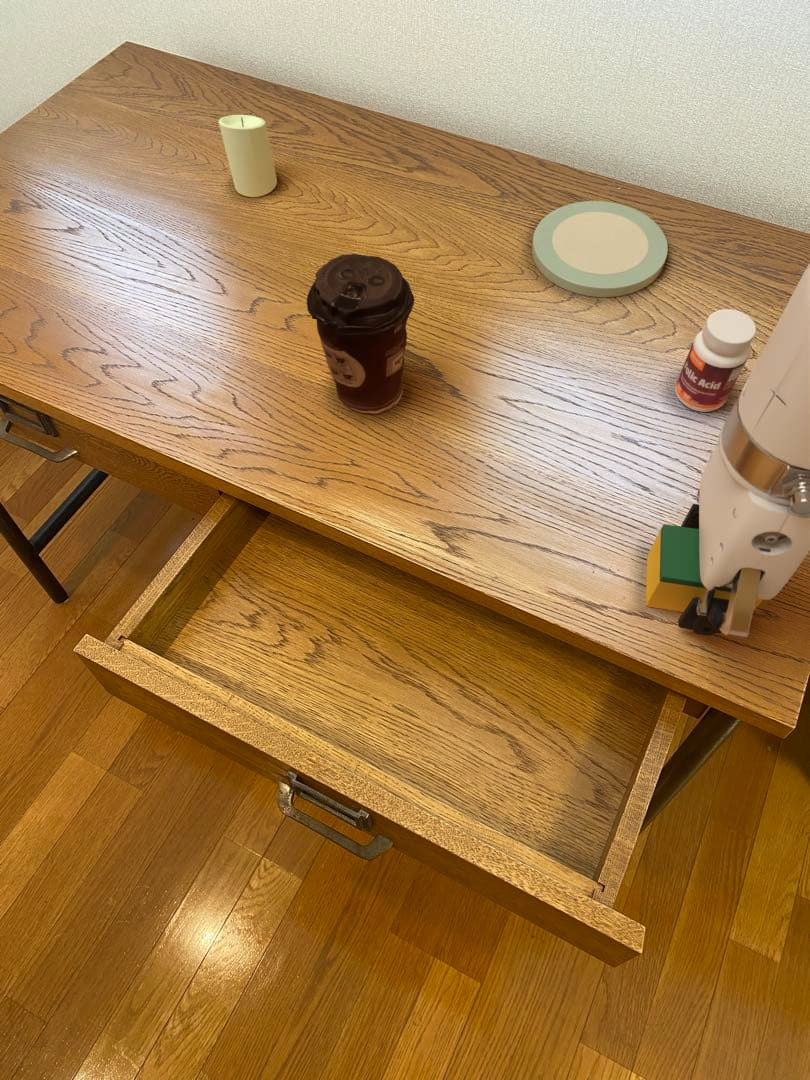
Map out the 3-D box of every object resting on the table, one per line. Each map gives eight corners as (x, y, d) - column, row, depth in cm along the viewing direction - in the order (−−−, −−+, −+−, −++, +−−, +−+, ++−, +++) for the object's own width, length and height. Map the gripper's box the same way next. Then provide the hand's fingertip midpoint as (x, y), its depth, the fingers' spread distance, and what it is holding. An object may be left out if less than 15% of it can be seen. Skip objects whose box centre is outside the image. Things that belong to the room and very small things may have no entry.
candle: (247, 168, 89) (231, 98, 82) (284, 176, 88) (271, 106, 81) (227, 192, 87) (208, 123, 80) (265, 201, 86) (250, 131, 79)
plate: (666, 216, 82) (669, 206, 81) (663, 304, 75) (667, 294, 74) (538, 204, 84) (540, 194, 83) (524, 289, 77) (526, 279, 76)
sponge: (742, 570, 60) (766, 538, 55) (744, 622, 57) (769, 593, 53) (647, 556, 60) (663, 523, 56) (645, 606, 58) (662, 576, 54)
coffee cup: (350, 439, 68) (334, 332, 56) (307, 382, 71) (284, 271, 60) (431, 398, 70) (430, 287, 59) (385, 345, 73) (376, 231, 62)
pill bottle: (663, 395, 69) (690, 327, 62) (691, 366, 71) (721, 297, 63) (709, 422, 67) (742, 355, 60) (736, 391, 69) (772, 323, 62)
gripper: (882, 581, 38) (753, 695, 53) (847, 337, 46) (744, 495, 62) (729, 559, 39) (645, 677, 54) (723, 323, 47) (652, 483, 63)
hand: (699, 579), depth 58 cm, fingers open, 7 cm apart
